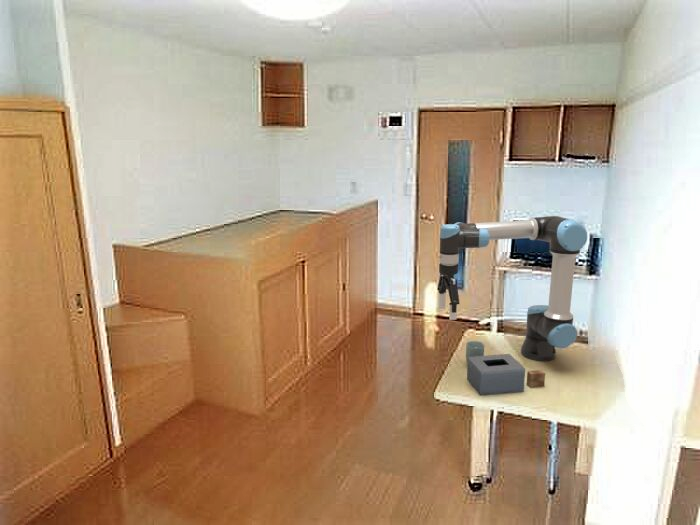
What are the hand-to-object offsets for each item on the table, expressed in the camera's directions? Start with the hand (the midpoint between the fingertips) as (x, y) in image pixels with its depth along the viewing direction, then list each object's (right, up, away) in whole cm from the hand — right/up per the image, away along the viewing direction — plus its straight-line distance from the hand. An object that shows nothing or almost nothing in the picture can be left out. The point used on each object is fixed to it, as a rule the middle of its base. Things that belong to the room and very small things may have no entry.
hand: (447, 313), depth 210 cm
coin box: (+19, -29, -2) cm, 34 cm away
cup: (+15, -24, +16) cm, 33 cm away
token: (+35, -29, -3) cm, 45 cm away
